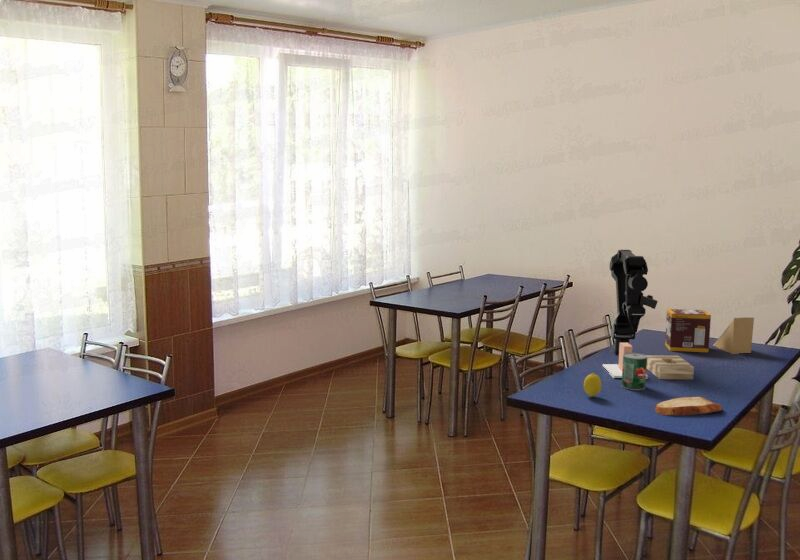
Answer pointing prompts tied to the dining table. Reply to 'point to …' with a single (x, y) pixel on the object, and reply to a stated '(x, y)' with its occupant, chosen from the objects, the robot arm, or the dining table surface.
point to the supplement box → (687, 330)
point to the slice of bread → (687, 406)
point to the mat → (614, 370)
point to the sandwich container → (737, 336)
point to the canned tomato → (634, 371)
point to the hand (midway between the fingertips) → (633, 330)
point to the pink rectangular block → (622, 350)
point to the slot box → (669, 367)
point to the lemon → (592, 384)
